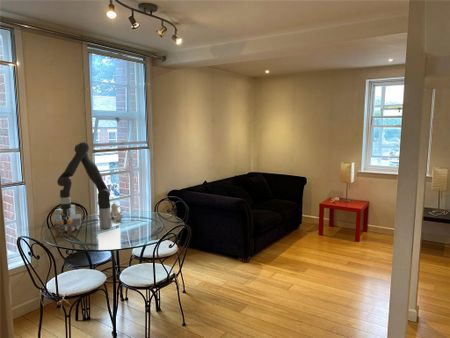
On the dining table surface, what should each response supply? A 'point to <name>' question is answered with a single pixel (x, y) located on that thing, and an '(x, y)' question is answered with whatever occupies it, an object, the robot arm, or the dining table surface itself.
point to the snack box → (58, 215)
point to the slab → (75, 220)
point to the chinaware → (115, 213)
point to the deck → (58, 234)
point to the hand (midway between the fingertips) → (66, 223)
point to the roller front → (72, 228)
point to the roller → (69, 221)
